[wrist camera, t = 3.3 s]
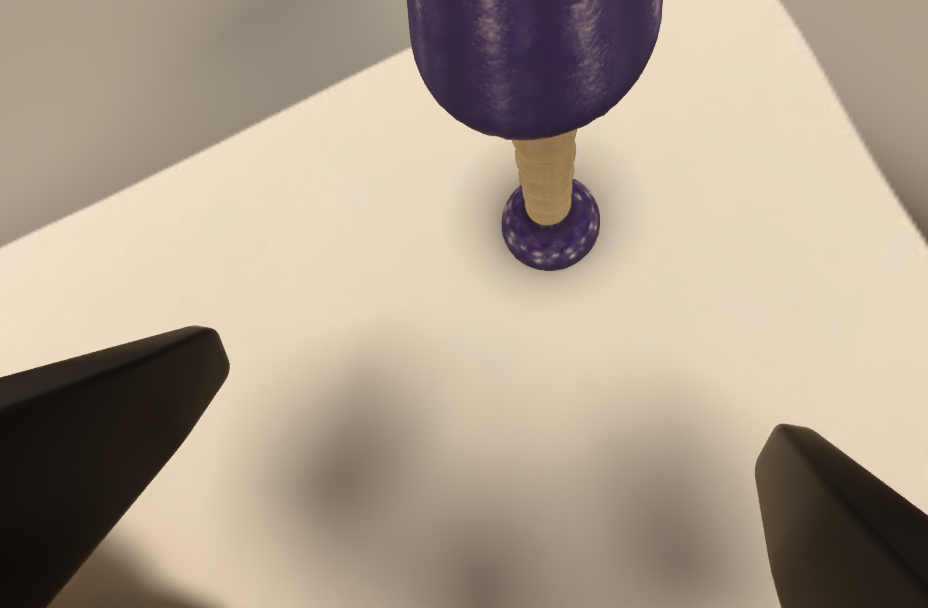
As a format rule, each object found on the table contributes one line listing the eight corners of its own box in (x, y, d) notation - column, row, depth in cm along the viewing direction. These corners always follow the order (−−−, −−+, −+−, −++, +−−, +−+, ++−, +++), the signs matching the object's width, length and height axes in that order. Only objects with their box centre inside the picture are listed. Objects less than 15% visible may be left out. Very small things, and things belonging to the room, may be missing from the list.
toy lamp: (594, 287, 21) (725, -42, 5) (486, 278, 22) (302, -25, 6) (603, 180, 22) (743, -408, 6) (498, 176, 23) (362, -346, 7)
